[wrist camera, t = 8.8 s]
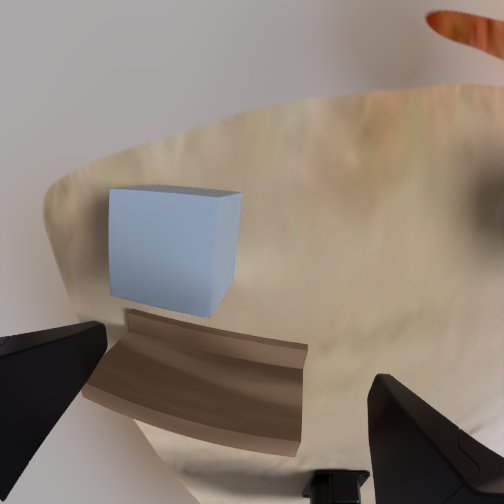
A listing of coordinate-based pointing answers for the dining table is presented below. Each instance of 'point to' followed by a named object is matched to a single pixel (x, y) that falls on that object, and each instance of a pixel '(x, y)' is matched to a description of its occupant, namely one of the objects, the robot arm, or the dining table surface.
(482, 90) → the dining table surface
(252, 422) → the wooden l bracket
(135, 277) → the letter cube
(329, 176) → the dining table surface
